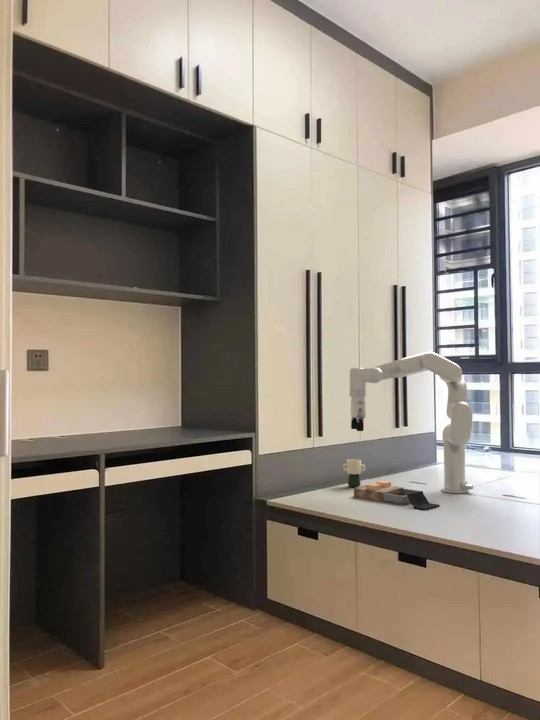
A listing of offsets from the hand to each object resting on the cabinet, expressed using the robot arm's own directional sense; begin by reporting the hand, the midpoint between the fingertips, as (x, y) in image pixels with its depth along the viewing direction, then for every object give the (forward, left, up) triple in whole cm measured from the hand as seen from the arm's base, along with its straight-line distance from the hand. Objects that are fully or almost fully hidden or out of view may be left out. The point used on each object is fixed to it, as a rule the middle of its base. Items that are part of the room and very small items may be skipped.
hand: (357, 429), depth 293 cm
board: (-14, +3, -29) cm, 32 cm away
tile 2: (-14, -1, -25) cm, 29 cm away
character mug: (+8, -9, -29) cm, 32 cm away
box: (-27, +3, -29) cm, 40 cm away
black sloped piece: (-40, +9, -30) cm, 50 cm away
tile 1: (-14, +7, -25) cm, 29 cm away
